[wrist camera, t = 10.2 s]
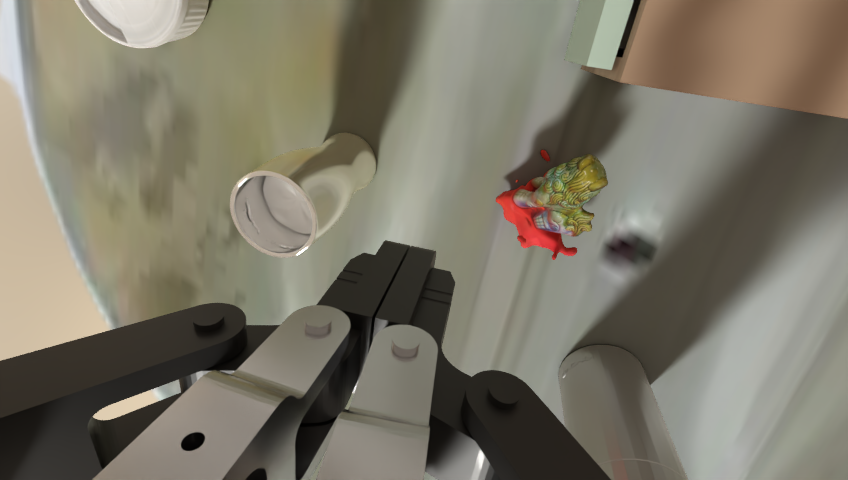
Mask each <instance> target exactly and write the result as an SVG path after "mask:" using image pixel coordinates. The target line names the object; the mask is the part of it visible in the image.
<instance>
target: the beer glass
mask: <svg viewBox="0 0 848 480" xmlns="http://www.w3.org/2000/svg"><path fill="white" fill-rule="evenodd" d="M375 172H376V159H375V155H374V153H373V151H372V149H371V147H370V146H369V145H368V143H367V142H366V141H365V140H363V139H362V138H361V137H359V136H357V135H355V134H351V133H337V134H334V135H332V136H331V137H329V138H328V139H327V140H326V141H325V142H324V143H323V144H322V145H321V146H320V147H310V148H302V149H298V150H293V151H289V152H287V153H284V154H282V155H279V156H277V157H275V158H273V159H271V160H269V161H267V162H266V163H264V164H262V165H261V166H259V167H258V168H256V169H255V170H254V171H252V172H251V173H249V174H247V175H245V176H243V177H242V178H241V179H240V180H239V181H238V182H237V183H236V184H235V186H234V188H233V190H232V193H231V197H230V210H231V215H232V218H233V221H234V223H235V226H236V227H237V229H238V231H239V232H240V234H241V235H242V236H243V237H244V239H245V240H246V241H247V242H248V243H249V244H251V245H252V246H253V247H255V248H256V249H258V250H259V251H261V252H263V253H265V254H268V255H271V256H275V257H282V258H285V257H293V256H296V255H299V254H301V253H302V252H304V251H305V250H306V249H308V248H309V246H311V245H312V244H313V243H315V242H316V241H317V240H319V239H320V238H321V237H323V236H324V235H325V234H326V233H327V232H328V231H329V230H330V229H331V228H332V227H333V226H334V225H335V224H336V223H337V222H338V221H339V220H340V218H341V217H342V215H343V214H344V212H345V210H346V209H347V207H348V205H349V203H350V201H351V199H352V197H353V194H354V192H356V191H359V190H361V189H363V188H365V187H366V186H368V185H369V184H370V182H371V181H372V180H373V178H374V175H375Z"/></svg>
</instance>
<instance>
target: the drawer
mask: <svg viewBox="0 0 848 480" xmlns="http://www.w3.org/2000/svg"><path fill="white" fill-rule="evenodd" d="M640 2H641V0H580V3H579V6H578V10H577V14H576V17H575V21H574V25H573V29H572V32H571V36H570V40H569V44H568V47H567V51H566V55H565V59H564V60H566V61H570V62H573V63H577V64H581V65H584V66H589V67H595V68H602V69H608V70H612V67H613V64H614V61H615V58H616V55H617V51H618V50H624V51H625V48H626V45H627V42H628V39H629V36H630V33H631V30H632V27H633V24H634V20H635V17H636V14H637V11H638V8H639V5H640Z"/></svg>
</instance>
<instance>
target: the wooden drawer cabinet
mask: <svg viewBox="0 0 848 480" xmlns="http://www.w3.org/2000/svg"><path fill="white" fill-rule="evenodd" d="M581 69H582V70H585V71H588V72H591V73H594V74H597V75H600V76H603V77H606V78H609V79H612V80H614V81H617V82H621V83H627V84H633V85H640V86H646V87H652V88H658V89H665V90H671V91H677V92H684V93H690V94H696V95H702V96H709V97H715V98H721V99H727V100H734V101H740V102H746V103H753V104H759V105H765V106H771V107H778V108H784V109H790V110H796V111H803V112H809V113H815V114H822V115H828V116H834V117H840V118H847V119H848V0H641V2H640V5H639V8H638V11H637V14H636V17H635V20H634V24H633V27H632V30H631V33H630V36H629V39H628V42H627V45H626V48H625V51H624V50H618V51H617V55H616V58H615V61H614V64H613V67H612V70H608V69H602V68H595V67H589V66H584V65H582V67H581Z"/></svg>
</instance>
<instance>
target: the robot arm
mask: <svg viewBox="0 0 848 480" xmlns="http://www.w3.org/2000/svg"><path fill="white" fill-rule="evenodd" d="M435 258H436V251H433V250H428V249H424V248H419V247H414V246H411V247H410V246H409V245H405V244H400V243H395V242H391V241H386V240H385V241H384V242H383V244H382V245H381V247H380V249H379V250H378V252H377V253H376V255H372V254H367V253H362V254H361V255H359V256H357V257H355V258H353V259H351V260H350V261H349V262H348V264H347V265H346V266H345V268H344V269H343V272H341V273H340V274H339V276H338V277H337V280H335V281H334V282H333V284H332V285H331V286H330V288H329V289H328V290H327V292H326V293H325V294H324V296H323V297H322V298H321V300H320V301H319V302H318V304H317V305H314V306H308V307H304V308H301V309H299V310H297V311H295V312H293V313H292V314H291V315H290V316H289V317H288V318H287V319H286V320H285V321H284V322H283V323H282V324H281V325H246V316H245V314H244V312H243V311H242V310H241V309H240V308H238V307H236V306H234V305H230V304H225V303H209V304H203V305H199V306H196V307H192V308H188V309H185V310H181V311H178V312H174V313H170V314H167V315H163V316H160V317H156V318H153V319H149V320H145V321H142V322H138V323H135V324H131V325H127V326H124V327H120V328H117V329H113V330H110V331H106V332H102V333H99V334H95V335H92V336H88V337H85V338H81V339H77V340H74V341H70V342H66V343H63V344H59V345H56V346H52V347H49V348H45V349H42V350H38V351H34V352H31V353H27V354H24V355H20V356H16V357H13V358H10V359H6V360H2V361H0V480H310V479H311V477H312V476H313V474H314V472H315V470H316V468H317V467H318V465H319V463H320V461H321V459H322V457H323V456H324V454H325V456H324V458H323V461H322V464H321V467H320V469H319V472H318V475H317V477H316V480H424V474H425V472H427V473H428V474H430V475H431V476H433V477H434V478H436V479H437V480H688V478H687V475H686V473H685V471H684V468H683V466H682V463H681V461H680V458H679V456H678V453H677V451H676V448H675V446H674V443H673V441H672V439H671V436H670V434H669V431H668V429H667V426H666V424H665V421H664V419H663V416H662V414H661V411H660V409H659V407H658V404H657V402H656V399H655V397H654V394H653V391H652V389H651V387H650V384H649V382H648V379H647V377H646V374H645V372H644V369H643V367H642V365H641V363H640V362H639V360H638V359H637V358H636V357H635V356H634V355H632V354H631V353H629V352H628V351H626V350H624V349H621V348H619V347H616V346H610V345H592V346H587V347H584V348H581V349H578V350H576V351H575V352H573V353H571V354H570V355H569V356H568V357H566V359H565V360H564V361H563V362H562V364H561V366H560V369H559V375H558V377H559V384H560V392H561V399H562V408H563V415H564V422H565V427H564V425H563V424H562V423H561V422H560V421H559V420H558V419H557V418H556V416H555V415H554V414H553V413H552V412H551V411H550V410H549V408H548V407H547V406H546V405H545V404H544V403H543V402H542V401H541V399H540V398H539V397H538V396H537V395H536V394H535V393H534V391H533V390H532V389H531V388H530V387H529V386H528V385H527V384H526V383H525V382H523V381H522V380H521V379H519V378H517V377H516V376H513V375H511V374H509V373H506V372H502V371H495V370H489V371H483V372H480V373H477V374H476V375H474V376H473V377H471V376H469V375H467V374H465V373H463V372H461V371H460V370H458V369H456V368H455V367H454V366H453V365H452V364H451V363H450V362H449V361H448V360H447V359H446V358H445V356H444V354H443V352H442V349H441V347H442V343H443V338H444V334H445V330H446V325H447V321H448V316H449V311H450V306H451V301H452V296H453V291H454V286H455V281H454V279H453V277H452V275H451V272H450V271H445V270H440V269H436V268H434V264H435ZM178 379H179V382H180V388H181V393H179V394H176V395H174V396H171V397H168V398H166V399H163V400H161V401H158V402H156V403H153V404H151V405H148V406H146V407H143V408H141V409H138V410H135V411H133V412H130V413H128V414H125V415H122V416H120V417H117V418H115V419H111V420H104V421H103V420H97V419H95V418H93V417H92V416H93V415H94V414H95V413H97V412H98V411H99V410H100V409H102V408H104V407H106V406H108V405H111V404H113V403H116V402H119V401H121V400H124V399H127V398H129V397H132V396H135V395H138V394H140V393H143V392H146V391H148V390H151V389H154V388H156V387H159V386H162V385H164V384H167V383H170V382H172V381H175V380H178ZM352 393H354V396H353V398H352V401H351V404H350V407H349V409H348V410H346V409H345V407H346V405H347V403H348V401H349V398H350V396H351V394H352ZM325 452H326V453H325Z"/></svg>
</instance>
